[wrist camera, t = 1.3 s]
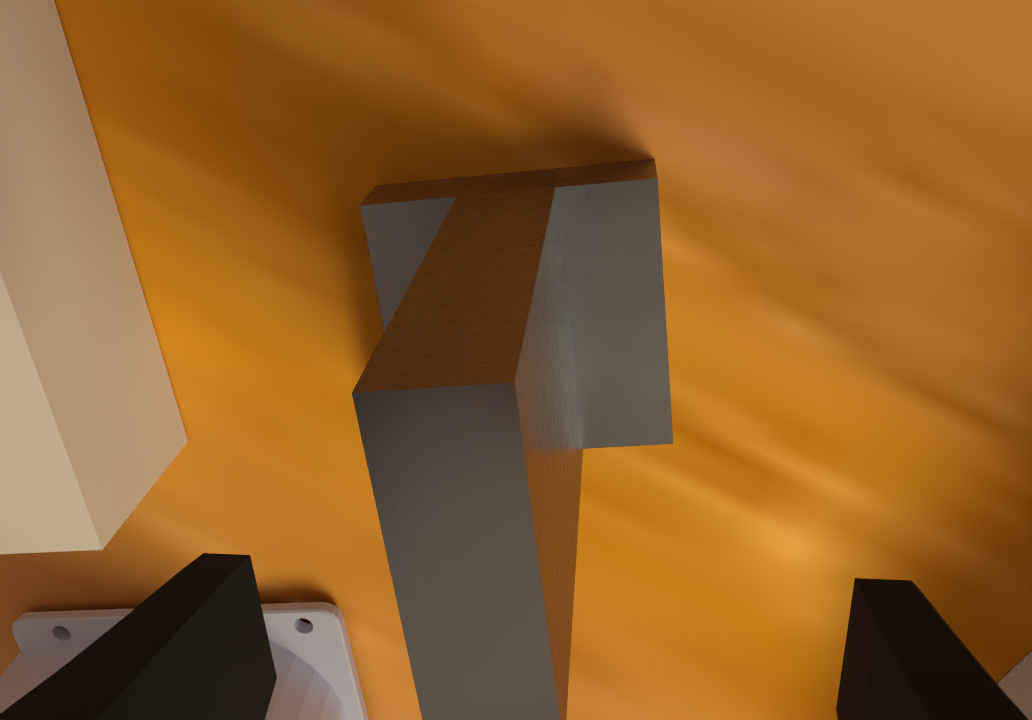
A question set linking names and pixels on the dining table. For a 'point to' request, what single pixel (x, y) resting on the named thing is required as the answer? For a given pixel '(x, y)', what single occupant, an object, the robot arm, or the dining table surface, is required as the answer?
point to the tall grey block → (505, 410)
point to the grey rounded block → (1020, 685)
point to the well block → (68, 314)
